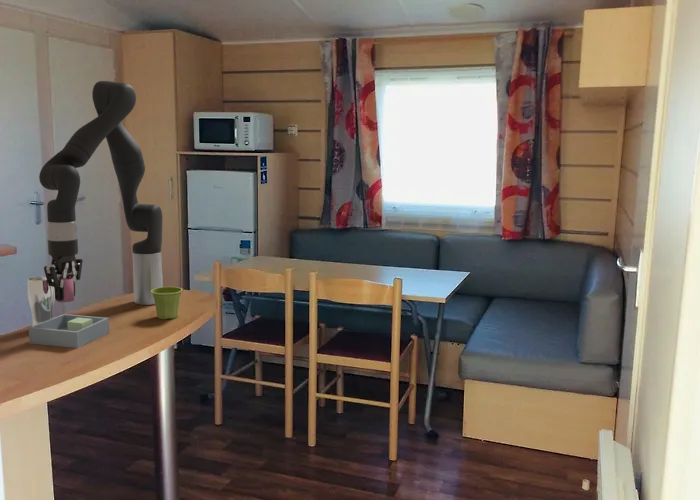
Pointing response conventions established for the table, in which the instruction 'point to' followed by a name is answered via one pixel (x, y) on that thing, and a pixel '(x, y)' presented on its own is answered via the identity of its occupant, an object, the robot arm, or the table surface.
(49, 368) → the table surface
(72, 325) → the sage block
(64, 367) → the table surface
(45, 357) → the table surface
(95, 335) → the tub
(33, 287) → the beer glass
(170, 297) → the plant pot
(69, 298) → the plum cylinder
